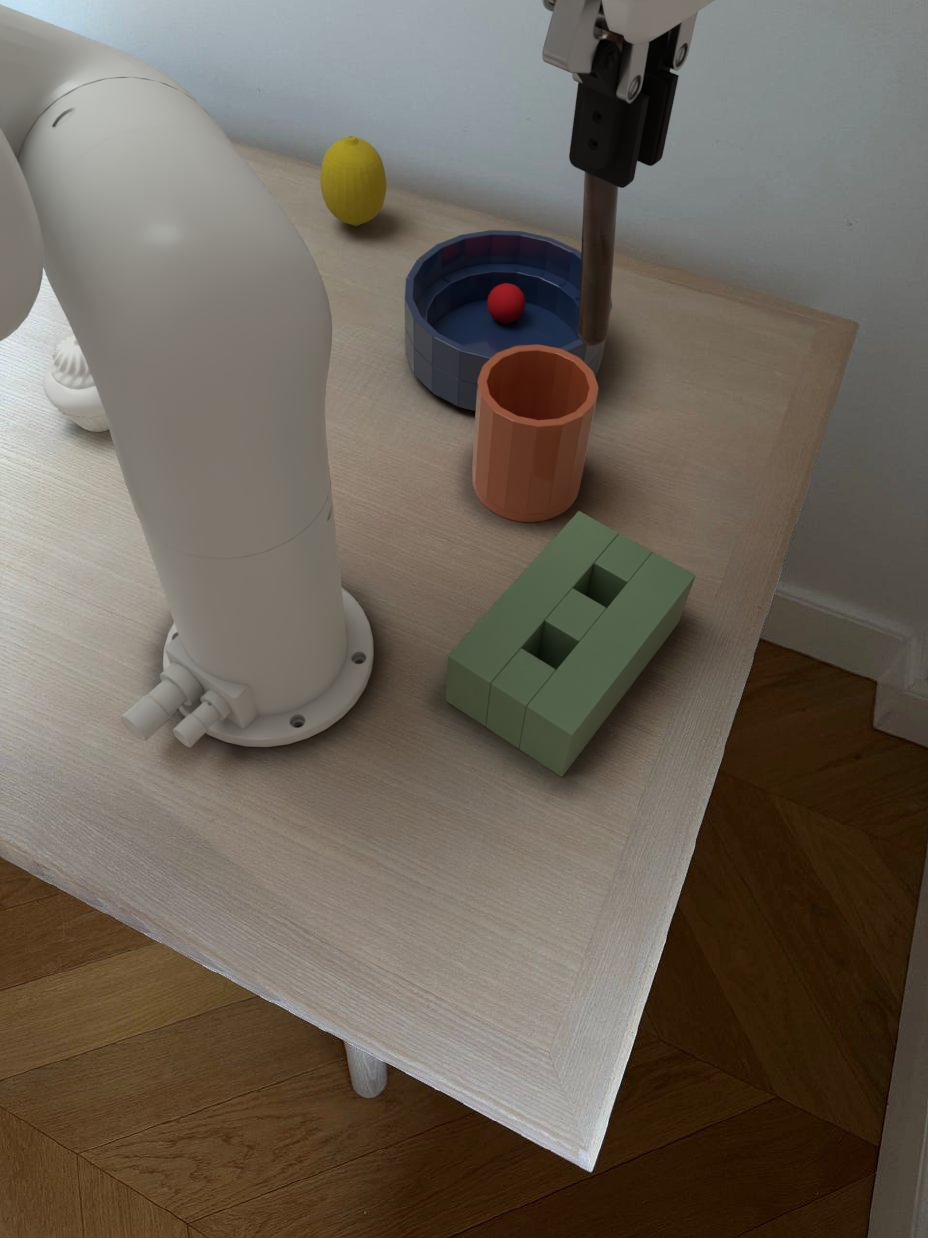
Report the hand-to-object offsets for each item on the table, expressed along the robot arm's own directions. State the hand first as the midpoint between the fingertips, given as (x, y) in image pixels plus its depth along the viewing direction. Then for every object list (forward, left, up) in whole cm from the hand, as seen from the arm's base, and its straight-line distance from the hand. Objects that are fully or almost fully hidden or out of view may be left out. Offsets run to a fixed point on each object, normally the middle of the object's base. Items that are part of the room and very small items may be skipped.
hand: (615, 161), depth 46 cm
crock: (+4, +5, -27) cm, 28 cm away
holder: (-7, -6, -27) cm, 29 cm away
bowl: (+14, +14, -27) cm, 33 cm away
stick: (0, 0, -10) cm, 10 cm away
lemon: (+20, +34, -27) cm, 48 cm away
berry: (+16, +15, -25) cm, 34 cm away
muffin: (-10, +33, -27) cm, 44 cm away
